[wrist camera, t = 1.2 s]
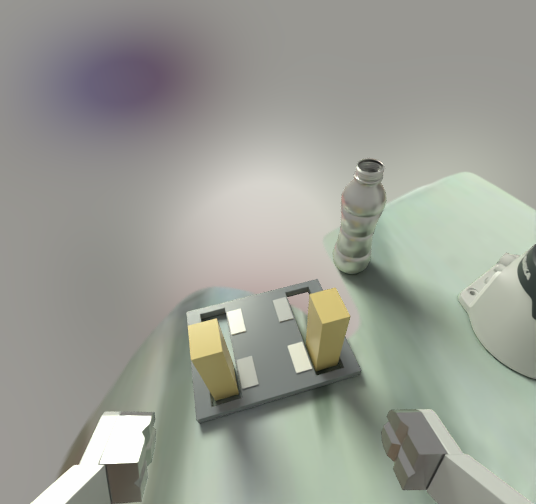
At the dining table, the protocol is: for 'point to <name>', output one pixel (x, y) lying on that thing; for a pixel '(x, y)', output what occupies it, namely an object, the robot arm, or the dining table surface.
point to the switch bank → (266, 352)
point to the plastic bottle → (360, 216)
